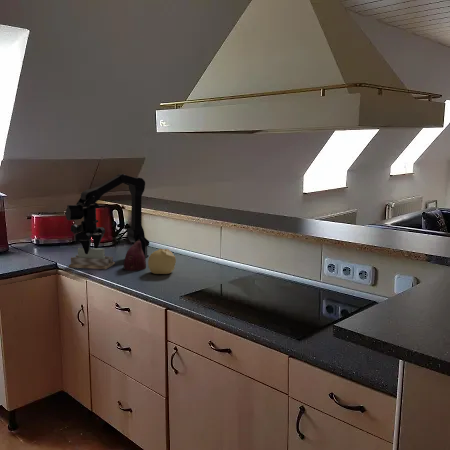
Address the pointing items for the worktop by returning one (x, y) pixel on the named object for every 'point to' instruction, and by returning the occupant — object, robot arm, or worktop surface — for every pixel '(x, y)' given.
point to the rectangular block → (92, 253)
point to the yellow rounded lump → (161, 262)
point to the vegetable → (135, 258)
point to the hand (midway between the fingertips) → (91, 251)
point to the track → (91, 262)
